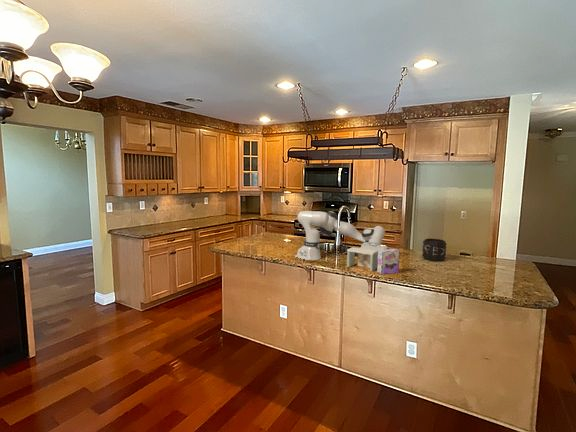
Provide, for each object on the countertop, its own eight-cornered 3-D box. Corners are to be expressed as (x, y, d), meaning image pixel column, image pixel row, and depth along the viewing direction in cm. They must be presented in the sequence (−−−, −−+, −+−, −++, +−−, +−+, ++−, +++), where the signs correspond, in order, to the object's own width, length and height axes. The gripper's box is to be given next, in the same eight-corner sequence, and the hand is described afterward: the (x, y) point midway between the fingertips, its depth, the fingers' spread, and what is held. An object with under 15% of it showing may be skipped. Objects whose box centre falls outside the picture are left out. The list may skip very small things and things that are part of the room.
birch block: (357, 265, 257) (357, 255, 256) (362, 262, 265) (363, 252, 264) (370, 267, 252) (370, 257, 250) (375, 264, 260) (375, 254, 259)
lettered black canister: (420, 260, 274) (421, 241, 271) (422, 255, 289) (424, 237, 287) (444, 263, 265) (446, 243, 263) (446, 258, 281) (447, 239, 279)
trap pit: (350, 269, 248) (350, 268, 248) (351, 268, 250) (351, 267, 250) (363, 271, 242) (363, 271, 242) (364, 270, 244) (364, 270, 244)
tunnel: (346, 266, 254) (347, 249, 252) (352, 263, 262) (353, 247, 260) (372, 271, 242) (372, 253, 241) (377, 268, 250) (378, 250, 249)
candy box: (381, 274, 235) (382, 251, 233) (376, 272, 241) (377, 249, 239) (398, 273, 239) (399, 250, 237) (394, 270, 244) (395, 248, 242)
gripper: (388, 247, 265) (383, 262, 258) (364, 244, 277) (359, 258, 270) (387, 243, 261) (382, 258, 254) (362, 240, 272) (356, 254, 266)
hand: (369, 258), depth 262 cm, fingers closed
